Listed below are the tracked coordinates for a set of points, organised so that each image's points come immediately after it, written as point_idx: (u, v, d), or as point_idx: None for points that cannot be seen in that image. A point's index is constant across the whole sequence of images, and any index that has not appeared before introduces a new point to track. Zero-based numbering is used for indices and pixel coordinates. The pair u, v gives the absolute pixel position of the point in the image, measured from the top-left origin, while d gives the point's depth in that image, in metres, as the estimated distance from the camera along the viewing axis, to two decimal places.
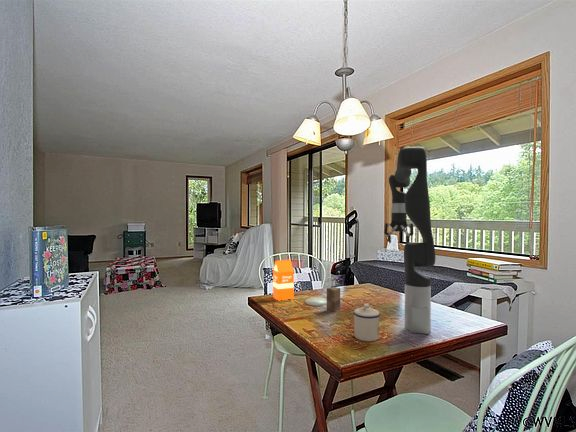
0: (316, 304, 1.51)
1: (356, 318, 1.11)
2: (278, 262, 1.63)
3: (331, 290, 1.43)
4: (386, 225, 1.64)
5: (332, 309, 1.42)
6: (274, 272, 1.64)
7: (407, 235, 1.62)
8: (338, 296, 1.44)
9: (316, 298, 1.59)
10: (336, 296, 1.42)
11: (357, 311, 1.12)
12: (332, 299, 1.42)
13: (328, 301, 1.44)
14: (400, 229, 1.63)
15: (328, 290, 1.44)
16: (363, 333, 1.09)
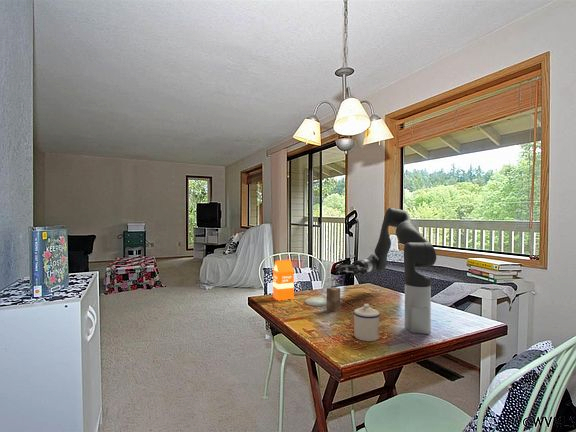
0: (316, 304, 1.51)
1: (356, 318, 1.11)
2: (278, 262, 1.63)
3: (331, 290, 1.43)
4: None
5: (332, 309, 1.42)
6: (274, 272, 1.64)
7: (358, 268, 1.53)
8: (338, 296, 1.44)
9: (316, 298, 1.59)
10: (336, 296, 1.42)
11: (357, 311, 1.12)
12: (332, 299, 1.42)
13: (328, 301, 1.44)
14: (355, 267, 1.58)
15: (328, 290, 1.44)
16: (363, 333, 1.09)
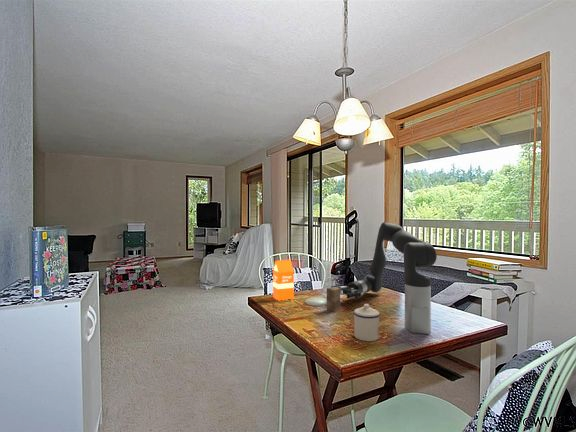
0: (316, 304, 1.51)
1: (356, 318, 1.11)
2: (278, 262, 1.63)
3: (331, 290, 1.43)
4: (338, 286, 1.59)
5: (332, 309, 1.42)
6: (274, 272, 1.64)
7: (352, 292, 1.49)
8: (338, 296, 1.44)
9: (316, 298, 1.59)
10: (336, 296, 1.42)
11: (357, 311, 1.12)
12: (332, 299, 1.42)
13: (328, 301, 1.44)
14: (349, 289, 1.53)
15: (328, 290, 1.44)
16: (363, 333, 1.09)
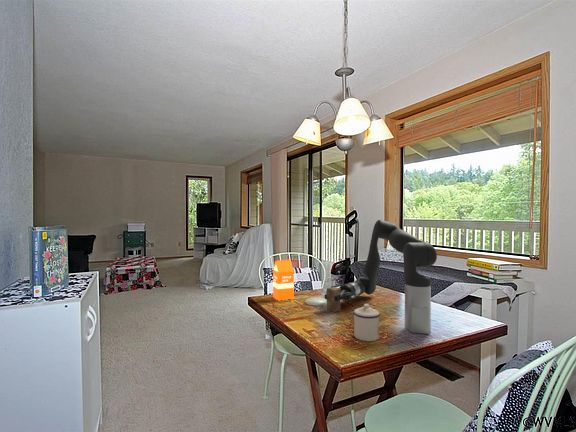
0: (316, 304, 1.51)
1: (356, 318, 1.11)
2: (278, 262, 1.63)
3: (331, 290, 1.43)
4: None
5: (332, 309, 1.42)
6: (274, 272, 1.64)
7: None
8: None
9: (316, 298, 1.59)
10: None
11: (357, 311, 1.12)
12: (332, 299, 1.42)
13: (328, 301, 1.44)
14: (340, 292, 1.49)
15: (328, 290, 1.44)
16: (363, 333, 1.09)
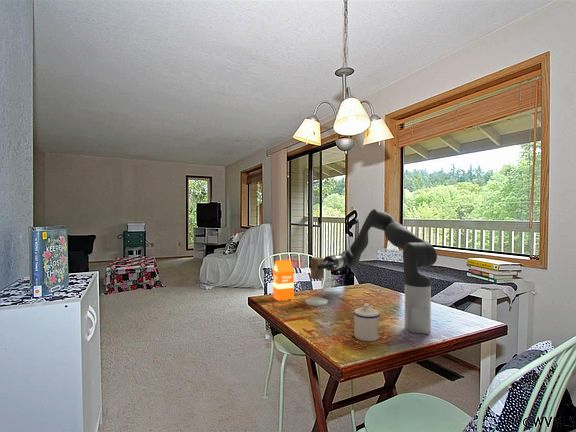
0: (316, 304, 1.51)
1: (356, 318, 1.11)
2: (278, 262, 1.63)
3: (314, 259, 1.54)
4: None
5: (315, 277, 1.54)
6: (274, 272, 1.64)
7: None
8: None
9: (316, 298, 1.59)
10: None
11: (357, 311, 1.12)
12: (316, 268, 1.54)
13: (312, 270, 1.55)
14: (324, 262, 1.60)
15: (312, 260, 1.55)
16: (363, 333, 1.09)
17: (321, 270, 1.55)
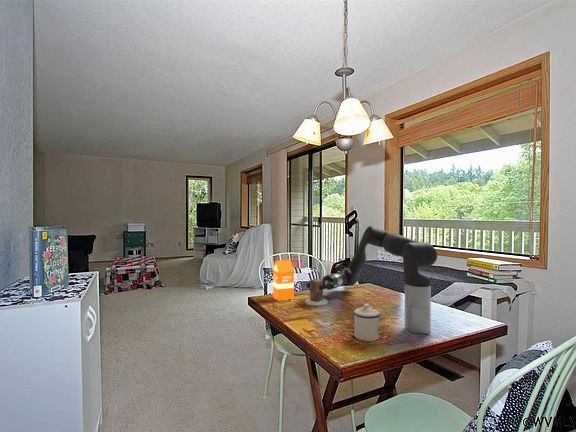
0: (316, 304, 1.51)
1: (356, 318, 1.11)
2: (278, 262, 1.63)
3: (314, 282, 1.54)
4: None
5: (315, 299, 1.54)
6: (274, 272, 1.64)
7: (324, 284, 1.55)
8: None
9: None
10: None
11: (357, 311, 1.12)
12: (315, 290, 1.54)
13: (311, 292, 1.55)
14: (323, 282, 1.60)
15: (311, 282, 1.55)
16: (363, 333, 1.09)
17: (320, 292, 1.55)
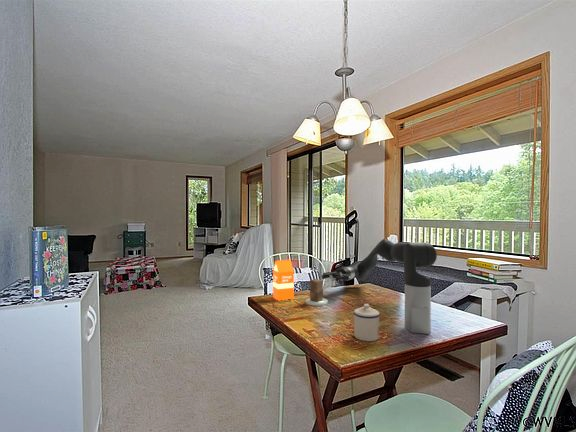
0: (316, 304, 1.51)
1: (356, 318, 1.11)
2: (278, 262, 1.63)
3: (314, 282, 1.54)
4: (328, 272, 1.75)
5: (315, 299, 1.54)
6: (274, 272, 1.64)
7: (340, 275, 1.64)
8: (321, 287, 1.55)
9: None
10: (319, 287, 1.54)
11: (357, 311, 1.12)
12: (315, 290, 1.54)
13: (311, 292, 1.55)
14: (337, 274, 1.69)
15: (311, 282, 1.55)
16: (363, 333, 1.09)
17: (320, 292, 1.55)
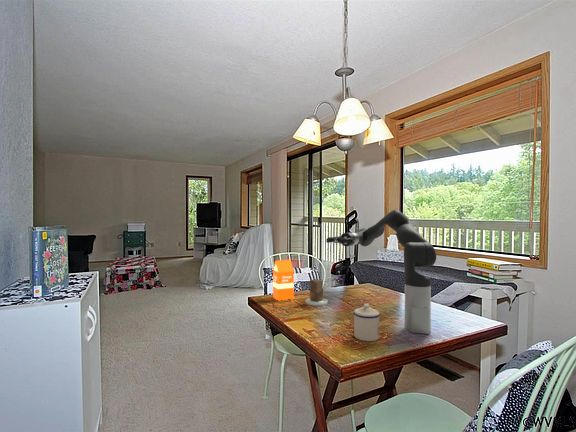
0: (316, 304, 1.51)
1: (356, 318, 1.11)
2: (278, 262, 1.63)
3: (314, 282, 1.54)
4: (333, 237, 1.74)
5: (315, 299, 1.54)
6: (274, 272, 1.64)
7: (345, 238, 1.64)
8: (321, 287, 1.55)
9: None
10: (319, 287, 1.54)
11: (357, 311, 1.12)
12: (315, 290, 1.54)
13: (311, 292, 1.55)
14: (342, 238, 1.68)
15: (311, 282, 1.55)
16: (363, 333, 1.09)
17: (320, 292, 1.55)
